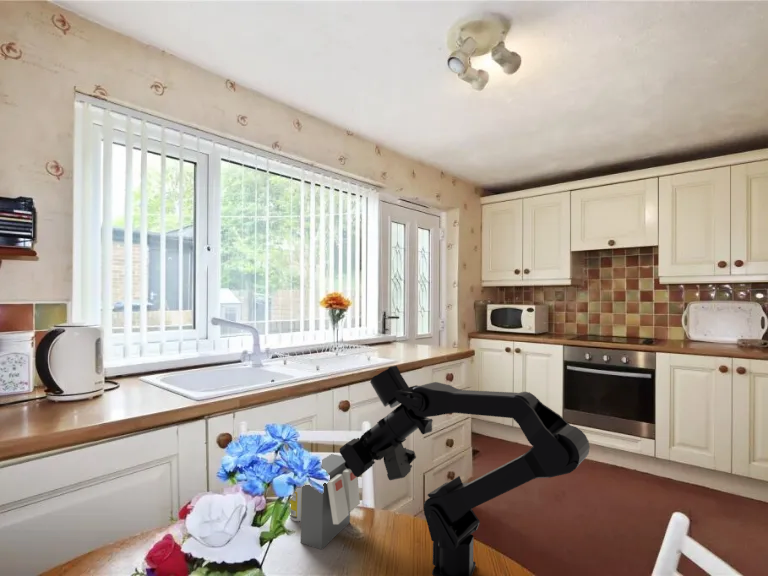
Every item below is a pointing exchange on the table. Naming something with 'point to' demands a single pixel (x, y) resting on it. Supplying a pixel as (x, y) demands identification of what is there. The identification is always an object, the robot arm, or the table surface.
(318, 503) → the switch box
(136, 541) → the table surface
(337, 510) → the block
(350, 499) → the block
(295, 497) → the supplement bottle
